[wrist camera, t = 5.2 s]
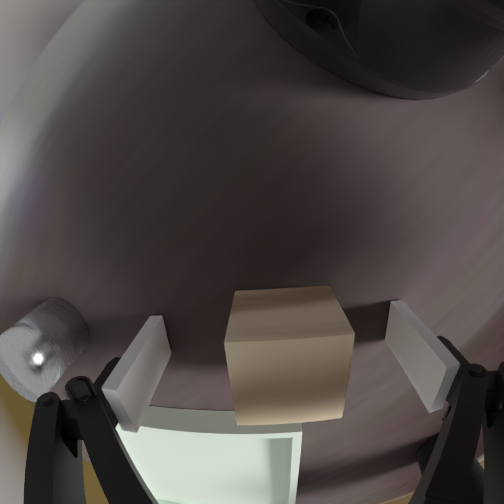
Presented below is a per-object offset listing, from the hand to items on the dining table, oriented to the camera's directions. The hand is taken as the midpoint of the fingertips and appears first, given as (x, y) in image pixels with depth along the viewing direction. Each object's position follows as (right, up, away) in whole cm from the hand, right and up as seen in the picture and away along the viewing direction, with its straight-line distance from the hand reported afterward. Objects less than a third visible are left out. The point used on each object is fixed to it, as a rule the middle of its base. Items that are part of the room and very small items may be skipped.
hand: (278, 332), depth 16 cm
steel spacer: (-15, -1, +1) cm, 15 cm away
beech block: (0, 0, 0) cm, 0 cm away
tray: (-6, -16, +5) cm, 17 cm away
